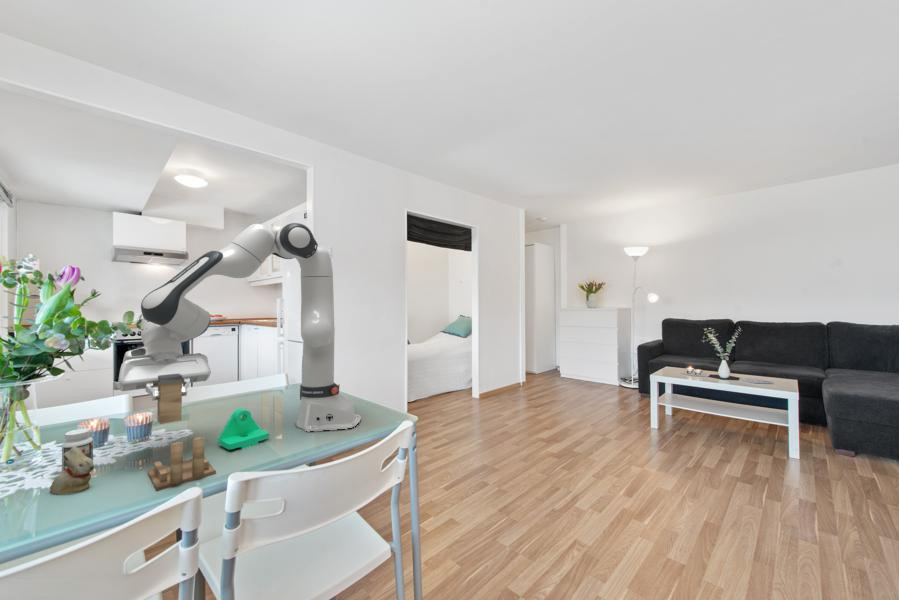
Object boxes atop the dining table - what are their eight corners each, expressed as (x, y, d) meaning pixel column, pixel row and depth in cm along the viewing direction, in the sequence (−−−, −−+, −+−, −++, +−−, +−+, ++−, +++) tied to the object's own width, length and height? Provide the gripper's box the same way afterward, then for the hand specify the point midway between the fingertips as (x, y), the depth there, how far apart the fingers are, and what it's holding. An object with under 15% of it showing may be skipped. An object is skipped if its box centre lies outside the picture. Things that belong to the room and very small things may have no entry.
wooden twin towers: (147, 473, 93) (148, 435, 93) (202, 459, 102) (203, 424, 102) (157, 492, 85) (157, 450, 85) (216, 474, 93) (217, 436, 93)
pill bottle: (98, 466, 97) (99, 428, 97) (71, 476, 92) (71, 436, 92) (83, 463, 99) (84, 426, 99) (55, 473, 93) (56, 433, 93)
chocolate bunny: (64, 499, 81) (65, 454, 81) (46, 491, 84) (46, 448, 84) (96, 487, 86) (96, 445, 86) (77, 480, 89) (78, 439, 89)
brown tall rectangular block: (157, 420, 99) (158, 375, 99) (177, 416, 102) (178, 373, 102) (160, 424, 96) (161, 378, 96) (181, 420, 99) (182, 375, 99)
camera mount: (229, 453, 106) (229, 418, 106) (217, 447, 111) (218, 413, 111) (269, 441, 116) (270, 408, 116) (257, 435, 121) (258, 404, 121)
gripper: (204, 359, 114) (212, 396, 107) (115, 367, 99) (118, 411, 92) (208, 346, 111) (217, 383, 104) (117, 352, 96) (121, 396, 89)
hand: (170, 396), depth 98 cm, fingers closed on brown tall rectangular block, 4 cm apart
